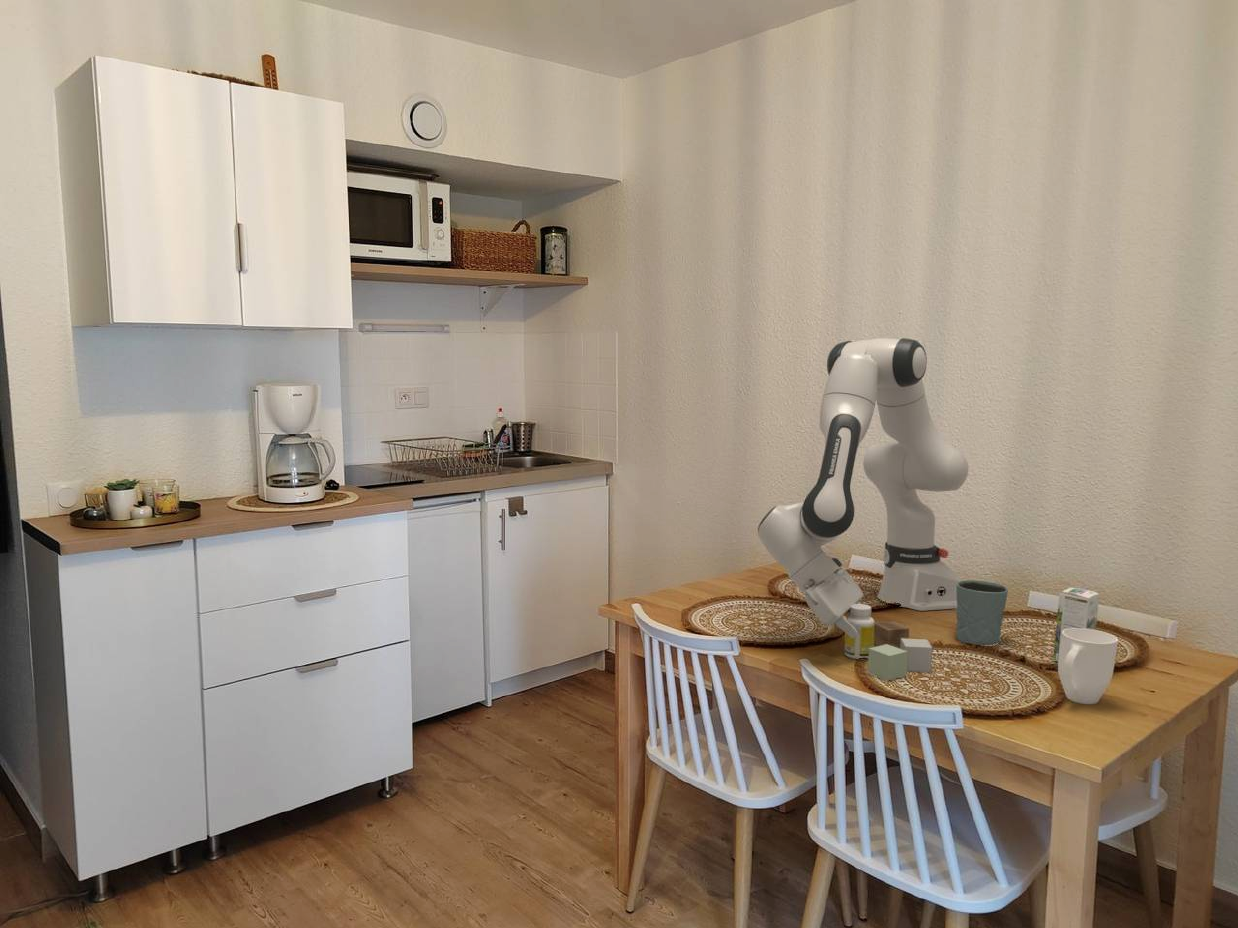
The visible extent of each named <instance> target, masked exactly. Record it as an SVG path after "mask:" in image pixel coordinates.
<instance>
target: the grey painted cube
mask: <svg viewBox="0 0 1238 928" xmlns="http://www.w3.org/2000/svg"><path fill="white" fill-rule="evenodd" d="M900 649H902V650H905V651H908V653H907V672H913V671H914V673H915V672H919V673H932V664H933V662H932V660H933V656H932V655H933V646H932V645H931V644H930V642H929V640H928V639H925V638H923V639H922V638H920V639H919V638H909V639H905V638H901V645H900Z"/></svg>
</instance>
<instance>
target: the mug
mask: <svg viewBox="0 0 1238 928" xmlns="http://www.w3.org/2000/svg"><path fill="white" fill-rule="evenodd" d="M1118 642H1119V639H1118V637H1117V636H1116V635H1113V634H1112V633H1108V632H1105V631H1102V630H1098V629H1096V630H1093V629H1086V628H1069V629H1065V630H1063V631H1062V636H1061V644H1060V652H1059V661H1058V662H1057V664H1058V665H1057V672H1058V677H1059V679H1060V683H1061V685H1062V688H1063V691H1064V693H1065V697H1066V699H1068V700H1070V701H1072V702H1074V703H1078V704H1083V705H1096V704H1097V703H1099V701H1100V699H1101V698H1102V696H1104V695H1103V694H1104V693H1105V691H1106V689H1108V687H1109V685H1110V683H1111V681H1112V679H1113V674H1114V670H1115V662H1116V657H1117V651H1118Z"/></svg>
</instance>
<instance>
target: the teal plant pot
mask: <svg viewBox="0 0 1238 928" xmlns="http://www.w3.org/2000/svg"><path fill="white" fill-rule="evenodd" d="M956 588H957V608H956V620H957V622H956V632H955V634H956V639H957V641H958V642H960V643H963V644H965V643H974V644H979V645H993V644H997V643H999V644H1000V640H1001V633H1002V632H1001V630H1002V629H1001V627H1002V625H1003V619H1004V616H1005V614H1003V613H1004V611H1005V608H1006V603H1007V597H1008V593H1009V590H1008V588H1007V586H1004V585H1002V584H999V583H995V582H990V581H984V580H974V579H973V580H969V579H968V580H962V581H960V582H958V583H957V584H956Z"/></svg>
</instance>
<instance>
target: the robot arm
mask: <svg viewBox="0 0 1238 928" xmlns="http://www.w3.org/2000/svg"><path fill="white" fill-rule="evenodd" d="M926 353H927V352H926V349H925V347H924V346H923V345H922V344H921V343H920V342H919V341H918V340H914V339H911V338H905V337H902V338H900V339H898V338H890V337H879V338H878V337H877V338H876V337H875V338H872V339H862V340H861V339H860V340H856V341H851V340H847V341H843V342H840V343H837V344H836V345H834V346H833V348H832V349H831V350H830V352H829V353H828V357H827V360H826V370H827V374H828V378H827V381H826V384H825V388H824V392H823V394H822V399H821V402H820V404H821V405H820V411H819V412H820V413H819V430H820V431H821V433H822V434H823V435H824V441H825V443H824V445H825V446H824V451H823V456H822V461H821V465H820V470H819V475H818V479H817V481H816V484H815V485H814V486H813V487H812V489H811V490H810V492H809V493H807V495H806V497H805V499H804V500H803V501H800V502H798V503H793V504H787V505H778V504H777V505H776V506H774V507H772V508H771V509H770V510H769V511H768V512H767V513H766V514H765V516H764V517H763V518H762V519H761V521H759V525H758V526H757V536H758V539H759V540H760V542H761V543H762V545H763V546H764V548H765V549H766V551H767V552H768V554H769V555H770V556H771V557H772V558H773V559H774V561H776V563H777V564H779V565H780V566H781V567H783V568H784V570H785V571H786V574H787V576H788V577H789V578H790V579H791V581H792V582H793V583H794V584H795V586H797V588H798V589H799V590H800V591H801V593H802V594H803V596H804V598H805V599H804V600H805V603H807V605H808V607H809V608H810V610H811V611H812V612H813V613H814V615H815V617H816V618H817V619H818V620H819V622H820V623H821V624H823V625H824V626H825V627H827V628H829V627H831V626H832V625H833V624H835V625H836V627H837V628H838V629H840V630H842V631H843V632H844V633H845V632H846V633H847V634H848V635H849V637H850V638H854V637H855V636H856V635H858V633H859V630H858V629H857V628H856V627H855V625H852V624H851V623H849V622H848V621H847V616H846V615H845V613H846V612H847V613H848V611H850V608H851V606H852V605H853V604H862V603H861V601H860V600H861V599H862V598H863V597H864V594H863V591H862V589H861V588H860V586H859V585H858V584H857V582H856V581H855V580H854V578H853V577H852V575H850V573H849V572H848V571H847V570H846V569H845V568H843V567H844V563H843V562H842V560H840V559H839V558H838V557H833V556H830V555H827V553H826V552H825V551H824V550H823V548H822V546H824V545H826V544H828V543H831V542H833V541H835V540H837V539H838V538H839V537H840V536H841V535H842V534H844V533H845V532H846V531H847V530H848V529H849V528H850V527H851V525H852V524H853V521H854V518H855V503H854V501H853V495H852V493H851V483H852V476H853V473H854V466H855V461H856V456H857V451H858V449H859V446H860V444H861V442H862V441H863V440H864V438H865V437H866V435H867V432H868V430H869V427H870V425H871V422H872V418H873V415H874V411H875V407H876V405H877V410H878V414H879V420H880V424H881V427H882V430H883V431H884V432H885V434H886V435H888V436H889V437H890V438H891V439H893V440H895V441H888V442H879V443H874V444H872V445H871V446H870V447H869V448H868V449H867V450H866V453H865V454H864V457H863V463H862V465H863V466H862V467H863V471H864V473H865V475H866V477H867V479H868V480H869V481H870V482H872V483H873V485H875V487H876V489H878V491H879V493H880V495H881V498H882V499H883V503H884V505H885V508H886V518H887V519H886V520H887V526H886V527H887V533H886V542H885V543H884V551H883V562H884V563H883V565H884V569H883V576H882V580H881V583H880V584H881V585H880V589H879V591H878V594H877V596H878V597H879V598H880V599H882V600H885V601H889V602H896V603H900V604H901V606H900V607H902V608H908V609H912V610H916V611H922V612H924V611H938V610H952V609H957V588H956V584H957V583H958V582H960V581H963V579H962V578H961V577H960V575H958V574H957V573H956V572H954V570H953V569H951V568H950V567H949V566H948V565H946V564H945V563H944V562H943V561H941V558H943V559H947V558H948V557H949V554H950V552H949V551H948V550H947V549H945V548H940V547H938V546H937V545H935V531H936V516H935V513H934V512H933V510H932V509H931V508H930V507H929V506H928V505H926V504H924V503H923V502H922V501H921V499H920V498H919V496H918V493H917V491H916V490H918V491H928V492H935V493H937V492H939V493H940V492H951V491H957V490H958V489H960V488H961V487H962V485H964V484H965V482H966V480H967V477H968V475H969V464H968V461H967V458H966V457H965V455H964V454H963V452H962V451H960V450H958V449H957V448H955V447H954V446H953V445H951V444H950V443H949V442H948V441H947V440H946V439H945V438H944V437H943V436H942V435H941V433H940V432H939V430H938V429H937V428H936V427H937V426H936V425H935V424H934V422H933V420H932V417H931V413H930V410H929V405H928V401H927V396H926V389H925V385H924V382H923V378H924V376H925V374H926V371H927V363H928V362H927V359H928V358H927V354H926ZM878 597H877V598H878Z"/></svg>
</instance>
